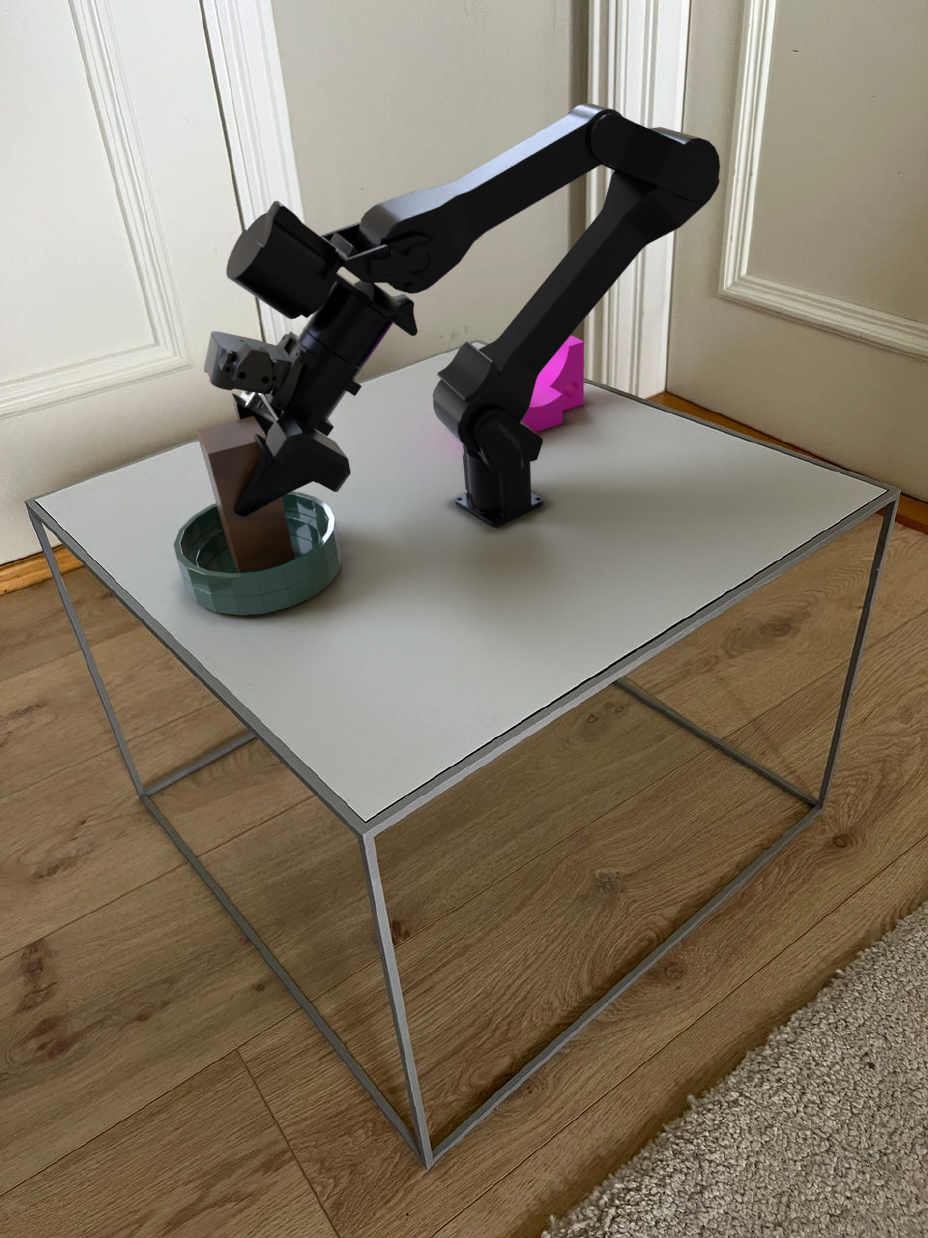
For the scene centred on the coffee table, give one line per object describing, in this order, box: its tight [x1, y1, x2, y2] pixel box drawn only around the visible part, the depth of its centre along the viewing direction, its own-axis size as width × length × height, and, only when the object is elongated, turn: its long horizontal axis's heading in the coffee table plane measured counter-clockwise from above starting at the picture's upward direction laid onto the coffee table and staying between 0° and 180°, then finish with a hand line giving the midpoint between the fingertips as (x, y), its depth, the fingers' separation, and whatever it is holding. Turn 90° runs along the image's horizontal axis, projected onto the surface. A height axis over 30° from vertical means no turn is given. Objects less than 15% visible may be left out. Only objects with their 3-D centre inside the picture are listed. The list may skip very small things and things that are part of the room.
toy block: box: [522, 334, 585, 433], centre depth 105 cm, size 15×6×8 cm, turn 120°
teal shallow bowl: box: [173, 490, 343, 616], centre depth 85 cm, size 14×14×4 cm
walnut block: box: [196, 416, 295, 573], centre depth 82 cm, size 5×5×12 cm
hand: (231, 499), depth 81 cm, fingers closed on walnut block, 5 cm apart
